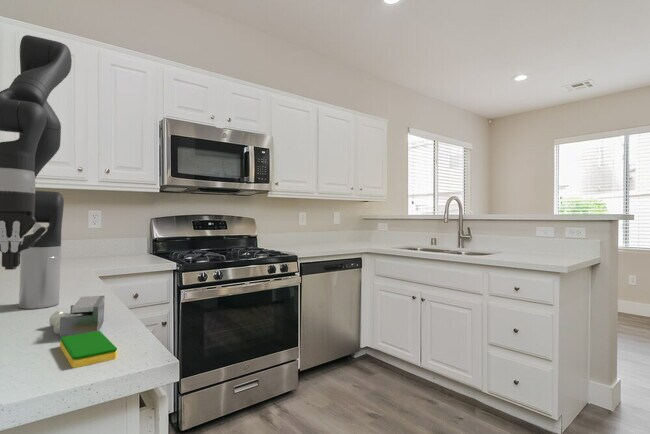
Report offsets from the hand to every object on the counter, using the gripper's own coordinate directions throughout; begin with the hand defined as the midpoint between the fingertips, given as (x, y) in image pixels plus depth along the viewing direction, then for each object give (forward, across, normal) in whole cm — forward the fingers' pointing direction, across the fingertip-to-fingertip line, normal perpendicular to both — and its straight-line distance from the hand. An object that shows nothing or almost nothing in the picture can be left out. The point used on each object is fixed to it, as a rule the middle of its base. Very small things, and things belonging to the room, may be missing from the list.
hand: (10, 269), depth 80 cm
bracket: (+15, -14, 0) cm, 20 cm away
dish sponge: (+16, -17, +17) cm, 28 cm away
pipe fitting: (+15, -10, -1) cm, 18 cm away
